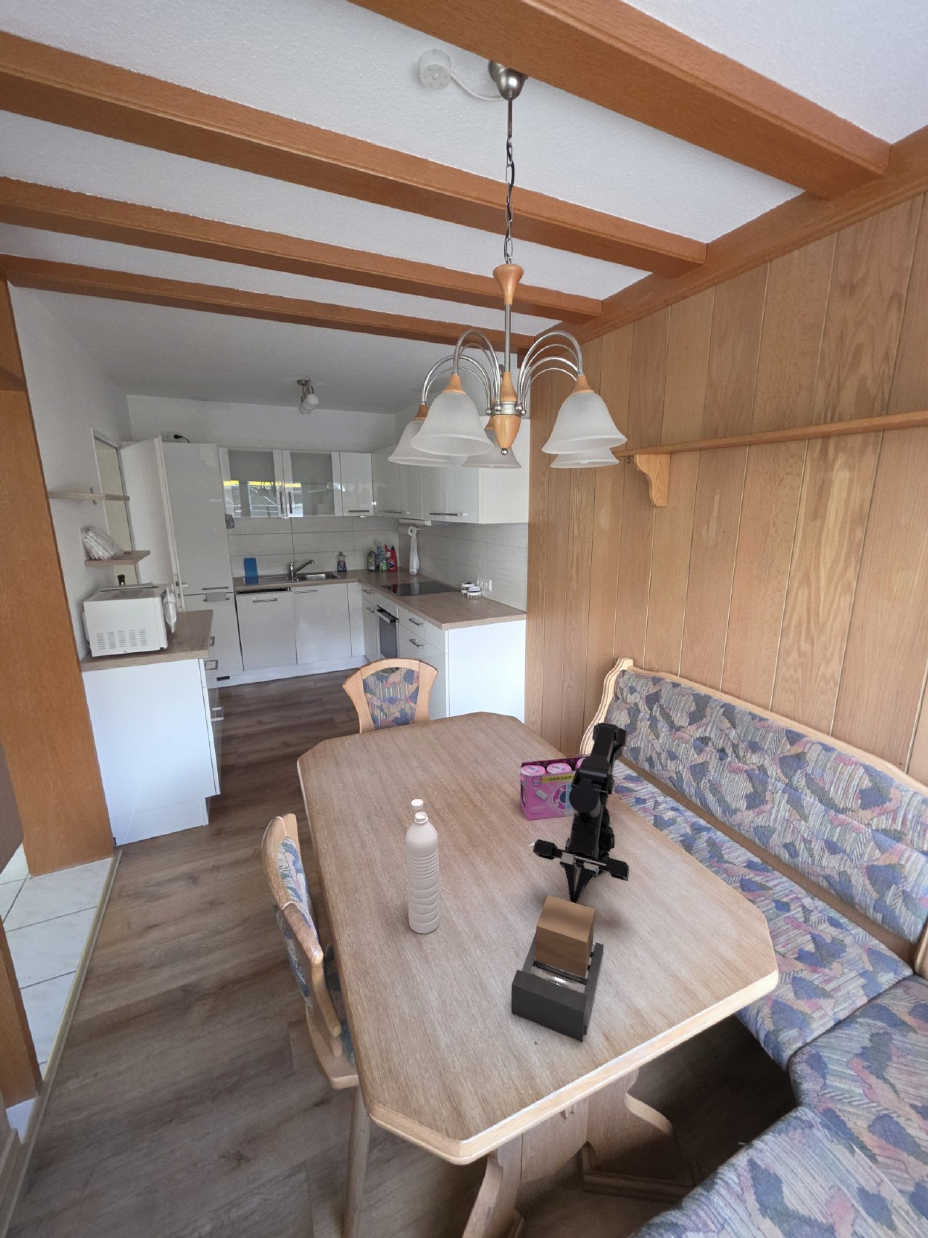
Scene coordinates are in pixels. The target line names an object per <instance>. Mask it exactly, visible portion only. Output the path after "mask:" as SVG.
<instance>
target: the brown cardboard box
mask: <svg viewBox="0 0 928 1238" xmlns="http://www.w3.org/2000/svg"><path fill="white" fill-rule="evenodd" d="M595 917H596V908H595V909H594V908H592V907H590V906H586V905H582V904H579V903H577V904H576V903H573V902H570V900H566V899H564V898H563V899H562V898H559V897H556V896H553V895H551V894H547V896H546V898H545V902H544V905H543V907H542V910H541V913H540V914H539V918H538V919H537V920H538V921H537V922H536V926H535V933H536V959H535V960H537V961H540V962H543V963H545V964H548V965H551V966H554V967H556V968H559V969H562V970H565V971H567V972H570V973H573V974H576V975H578V976H581V977H584V978H585V976H586V971H587V970H588V969H587V967H588V963H589V958H590V957H591V956H590V954H591V950H592V946H593V944H594V932H595Z"/></svg>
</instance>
